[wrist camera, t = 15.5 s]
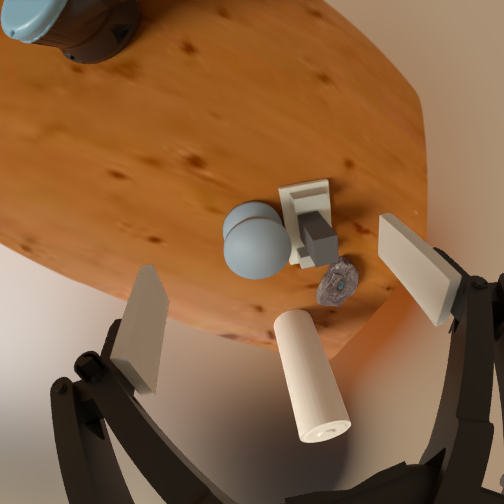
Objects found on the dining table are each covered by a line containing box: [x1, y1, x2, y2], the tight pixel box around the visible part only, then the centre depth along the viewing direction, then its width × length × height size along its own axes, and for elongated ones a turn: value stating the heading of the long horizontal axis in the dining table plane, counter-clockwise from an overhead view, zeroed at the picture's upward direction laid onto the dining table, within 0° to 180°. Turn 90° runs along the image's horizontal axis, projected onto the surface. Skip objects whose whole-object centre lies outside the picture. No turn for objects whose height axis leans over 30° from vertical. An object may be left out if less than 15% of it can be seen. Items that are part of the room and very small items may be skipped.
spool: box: [223, 201, 292, 279], centre depth 49 cm, size 11×11×8 cm
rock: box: [316, 256, 359, 307], centre depth 59 cm, size 8×11×4 cm
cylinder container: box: [274, 309, 351, 443], centre depth 54 cm, size 9×9×30 cm
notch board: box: [279, 179, 332, 269], centre depth 52 cm, size 16×9×5 cm, turn 11°
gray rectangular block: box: [297, 211, 339, 267], centre depth 48 cm, size 5×4×10 cm
